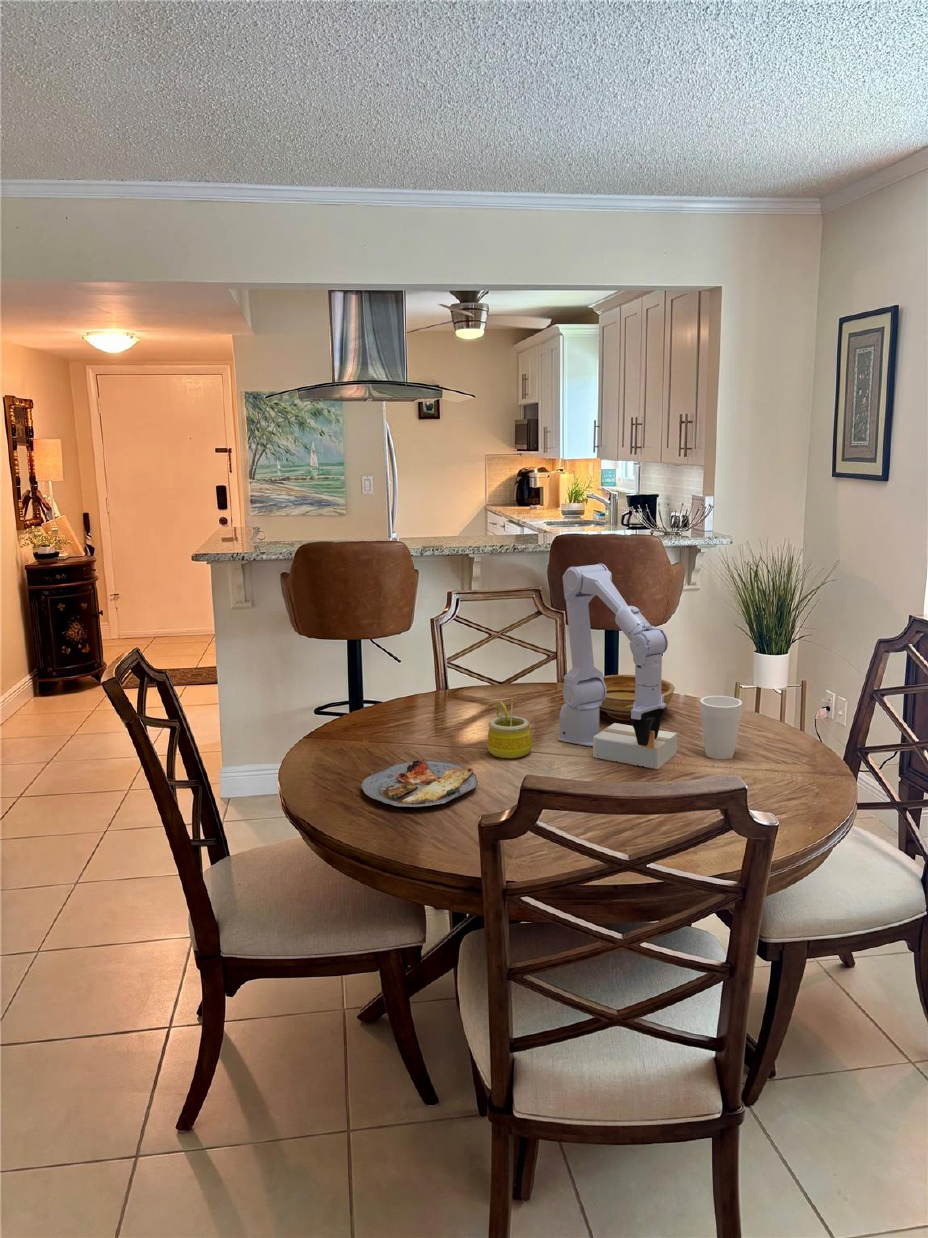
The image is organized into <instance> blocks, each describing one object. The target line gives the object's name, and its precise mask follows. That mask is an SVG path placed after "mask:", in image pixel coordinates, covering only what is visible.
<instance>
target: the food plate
mask: <svg viewBox="0 0 928 1238" xmlns="http://www.w3.org/2000/svg"><path fill="white" fill-rule="evenodd" d="M478 782H479V781H478V780H477V774H476V773H474V769H473V768H470V767H469V768H467V767H465V766H462V765H459V764H458V763H455V762H449V761H442V760H438V761H437V760H436V761H435V760H425V759H423V758H422V759H421V760H413V761H412V762H408V761H407V762H405V763H401V764H393V765H392V766H389V767H386V768H385V769H382V770H379V771H377V772H375V773H374V774H371V775H368V776H367V777H366V778H364V780H362V782H361V790H362V791H363V793H364V794H365V795H367V797H369V798H371V799H373V800H376V801H377V802H382V804H386V805H387V804H389V805H392V806H393V807H394V806H395V807H410V808H412V807H414V808H416V809H417V808H421V807H427V806H434V805H441V804H446V803H447V802H450V801H452V800H453V799H456V798H458V797H460V796H462V795H464V794H466V793H468V792H469V791H471V790H473V789H475V788H476V787H477V786H478ZM392 786H393V787H392ZM387 787H388V790H387ZM384 791H386V796H388V798H387V797H385V796H384V795H385V793H384ZM405 797H406V798H405ZM403 798H404V799H403ZM400 799H403V800H401V802H400V801H397V800H400Z"/></svg>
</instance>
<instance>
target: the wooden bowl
mask: <svg viewBox="0 0 928 1238" xmlns="http://www.w3.org/2000/svg"><path fill="white" fill-rule="evenodd" d="M603 680H604V683H605V685H606V688H607V694H606V698H605V699H604V700H603V701H602V705H601V706H599V711H602V712H605V713H607V715H608V716H609V717H610V718H612V719H616V720H618V721H619V720H621V721H630V720H629V714H630V713H631V710H632V709H633V705H634V701H635V674H615V675H614V674H611V675H610V674H609V675H605V676H604V675H603ZM675 689H676V688H675V685H673V683H672V682H670V681H668V680H665V679H663V678H661V694H662V695H664V703H665V704H666V707H667V706H668V705H669V704H670V702H671V700H672V698H673V695H674V692H675Z"/></svg>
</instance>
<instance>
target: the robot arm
mask: <svg viewBox="0 0 928 1238" xmlns="http://www.w3.org/2000/svg"><path fill="white" fill-rule="evenodd" d="M562 584H563V585H562V586H563V595H564V600H565V603H566V605H565V606H566V613H567V614H566V615H567V623H568V625H567V626H568V633H569V634H568V636H569V645H570V646H569V647H570V657H571V665H572V667H571V669H570V670H569V671H568V672H567V673H566V674H565V675H564V676H563V687H562V698H563V700H564V702H565V703H564V704H563V705H562V706H561V708H560V711H559V737H558V741H559V742H564V743H571V744H575V745H580V746H586V747H593V737H594V736H595V735H597V734H598V733H600V709H599V706H601V705H602V701H603V700H604V699H605V698H606V694H607V688H606V685H605V683H604V680H603V676H604V674H603V672H602V671H601V670H600V669H598V668H597V667H595V661H594V653H593V641H592V631H591V621H590V608H589V603H590V602H591V601H592V599H593V598H594V597H595V596H598V598H599V599H600V600H601V601H602V602H603V603H604V604H605V605H606V606H607V607H608V608H609V609H610V610H611V611H612V612H613V614H614V615H615V619H614V621H615V624H616V625H617V626H618V628H619V629H620V630H621V631H622V632H623V634H624V635H625V637H626V638H627V639H628V640H629V648H630V652H631V654H632V661H633V664H635V665H634V668H635V669H634V670H635V672H634V675H635V701H634V705H633V709H632V710H631V713H630V714H629V720H628V721H629V722H630V723H631V726H633V728H634V731H635V734H636V739H637V743H638V745H642V746H647V745H648V742H649V736H650V730H652V731H655V738H654V739H656V738H657V736H658V732H659V730H660V727H661V723H662V721H663V718H664V716H665V715H666V712H667V706H666V704H665V703H664V695H662V694H661V679H662V676H663V675H662V674H663V673H662V671H663V670H662V669H663V668H662V666H663V665H662V663H663V654H665V653H666V651H667V650H668V646H669V642H668V641H669V640H668V636H667V635H666V633H665V632H664V630H663V629H662V628H660V627H656V626H654V625H651V623H649V621H648V620H647V619H646V618H645V616H644V615H643V614H642V613H641V612H640V609H639V608H638V607H636V606H634V605H628V603H627V602H626V600H625V599H624V598H623V596H622V594H621V593H620V592H619V590H618V589H617V588H616V586H615V584H614V583H613V574H612V572H611V571H610V570H609V569H608V567H607V565H605V564H604V563H597V564H590V565H580V566H570V567H568V568H567V569H566V570H565V572H564V573H563V575H562Z"/></svg>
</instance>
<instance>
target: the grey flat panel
mask: <svg viewBox="0 0 928 1238" xmlns="http://www.w3.org/2000/svg"><path fill="white" fill-rule="evenodd" d="M654 738H655V731H652V730H650V736H649V742H648V745H647V746H642V745H640V746H639V745H633V744H627V743H622V742H616V741H610V740H604V739H599V738H597V739H596V758H595V759H600V758H601V760H605V759H607V760H606V761H610V760H612V762H616V761H617V763H621V762H623V763H622V764H626V763H628V764H627V765H632V764H633V765H634V766H637V765H639V766H638V767H642V766H644V768H648V767H649V769H653V768H654ZM633 765H632V766H633Z"/></svg>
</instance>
